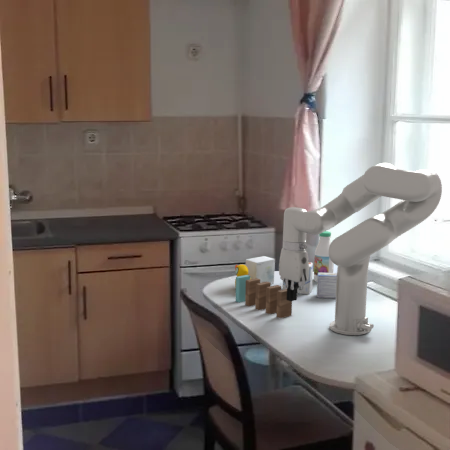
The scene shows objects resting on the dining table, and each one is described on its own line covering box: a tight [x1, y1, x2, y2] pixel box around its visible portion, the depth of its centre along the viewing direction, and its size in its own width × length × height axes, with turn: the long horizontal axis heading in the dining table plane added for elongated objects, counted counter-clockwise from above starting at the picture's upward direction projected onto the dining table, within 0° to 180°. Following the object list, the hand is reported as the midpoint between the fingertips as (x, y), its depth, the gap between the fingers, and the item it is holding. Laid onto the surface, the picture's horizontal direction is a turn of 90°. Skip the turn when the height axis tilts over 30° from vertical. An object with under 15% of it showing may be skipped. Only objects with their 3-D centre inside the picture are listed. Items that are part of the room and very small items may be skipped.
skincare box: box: [244, 255, 276, 286], centre depth 270 cm, size 10×6×10 cm, turn 132°
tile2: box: [265, 284, 282, 315], centre depth 236 cm, size 2×5×9 cm, turn 128°
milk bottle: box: [313, 230, 335, 282], centre depth 277 cm, size 8×8×20 cm
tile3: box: [254, 282, 272, 311], centre depth 240 cm, size 2×5×9 cm, turn 128°
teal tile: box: [235, 275, 250, 303], centre depth 249 cm, size 2×5×9 cm, turn 128°
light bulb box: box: [281, 262, 314, 295], centre depth 262 cm, size 11×7×11 cm, turn 76°
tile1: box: [276, 289, 293, 319], centre depth 232 cm, size 2×5×9 cm, turn 128°
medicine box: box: [316, 272, 337, 299], centre depth 255 cm, size 8×4×9 cm, turn 84°
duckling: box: [234, 263, 251, 288], centre depth 261 cm, size 11×5×10 cm, turn 25°
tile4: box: [244, 278, 260, 307], centre depth 244 cm, size 2×5×9 cm, turn 128°
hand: (291, 300), depth 228 cm, fingers closed
